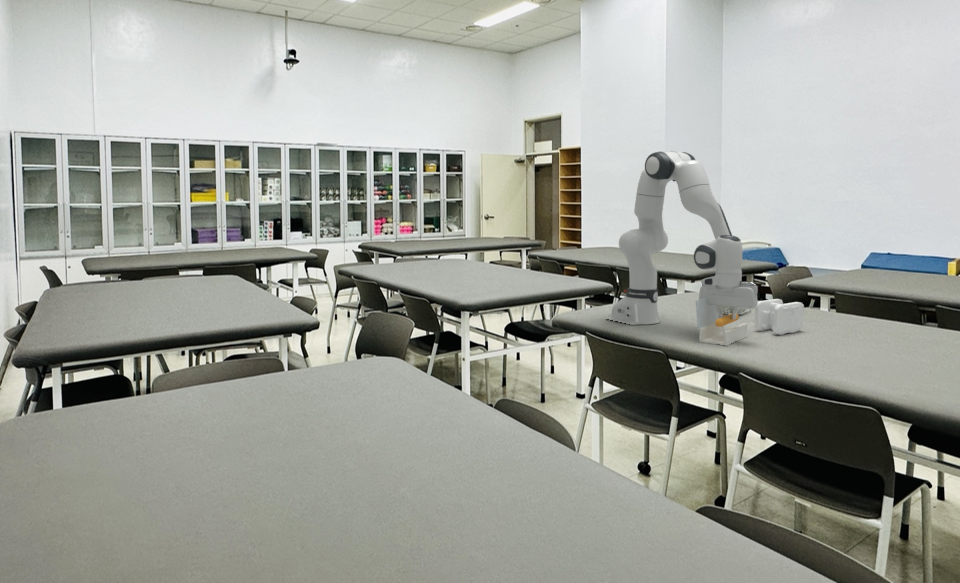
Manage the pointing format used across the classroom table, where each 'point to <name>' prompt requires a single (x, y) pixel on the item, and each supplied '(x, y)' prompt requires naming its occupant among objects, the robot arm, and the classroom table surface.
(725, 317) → the rod
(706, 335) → the duct
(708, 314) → the cover
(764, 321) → the cable organizer
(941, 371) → the classroom table surface
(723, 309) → the skeletal model
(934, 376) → the classroom table surface
